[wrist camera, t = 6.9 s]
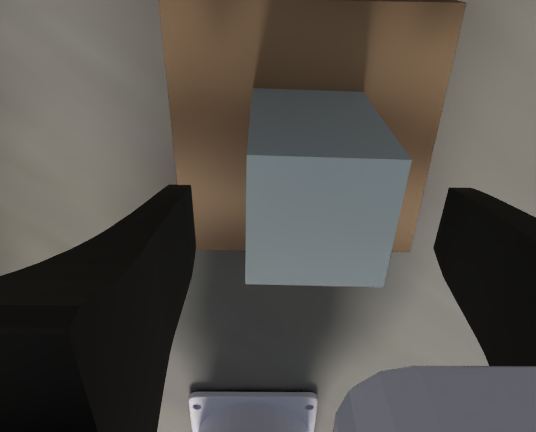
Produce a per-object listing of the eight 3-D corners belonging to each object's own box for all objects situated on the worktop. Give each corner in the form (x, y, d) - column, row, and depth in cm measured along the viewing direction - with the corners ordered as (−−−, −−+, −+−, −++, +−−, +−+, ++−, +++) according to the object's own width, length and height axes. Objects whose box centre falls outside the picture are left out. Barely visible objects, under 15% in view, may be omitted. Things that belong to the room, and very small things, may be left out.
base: (398, 227, 21) (409, 252, 19) (190, 225, 21) (184, 250, 19) (444, -3, 16) (466, 2, 14) (169, -8, 16) (158, -3, 14)
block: (349, 190, 18) (383, 287, 13) (250, 187, 18) (245, 284, 13) (363, 91, 16) (411, 159, 11) (252, 88, 16) (246, 155, 10)
